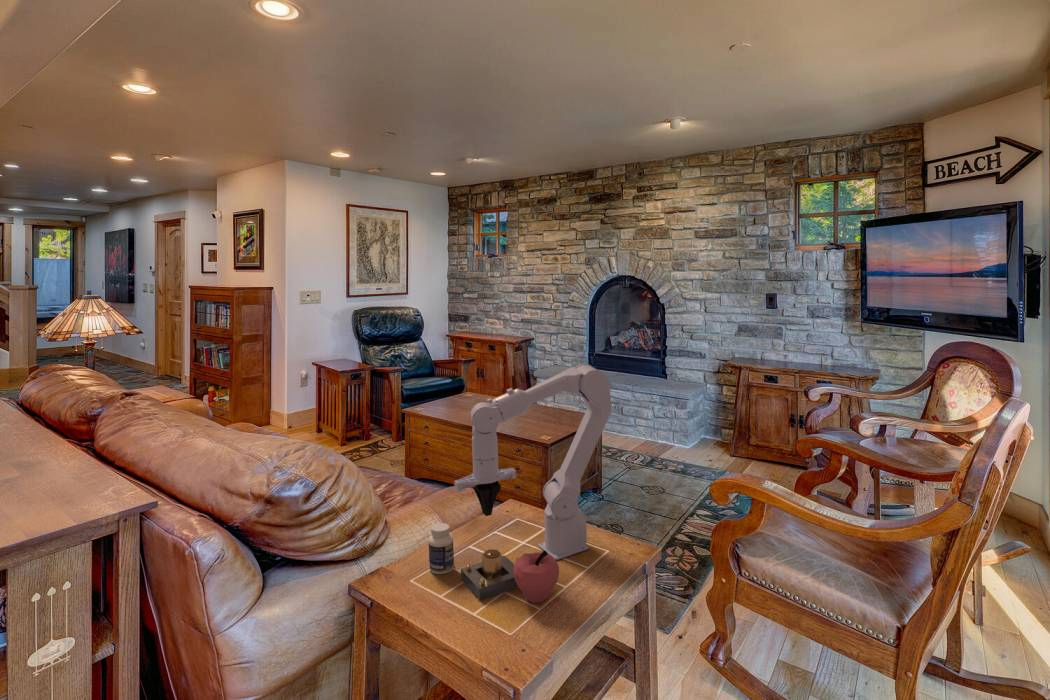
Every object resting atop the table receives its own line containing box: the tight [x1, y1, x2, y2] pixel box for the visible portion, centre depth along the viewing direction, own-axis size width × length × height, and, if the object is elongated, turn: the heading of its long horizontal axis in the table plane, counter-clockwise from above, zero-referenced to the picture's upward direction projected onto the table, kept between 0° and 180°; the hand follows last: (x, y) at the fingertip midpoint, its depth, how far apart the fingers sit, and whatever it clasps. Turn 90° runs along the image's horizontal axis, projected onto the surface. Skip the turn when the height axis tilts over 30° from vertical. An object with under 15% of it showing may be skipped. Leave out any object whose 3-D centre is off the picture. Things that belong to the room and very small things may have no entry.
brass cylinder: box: [481, 548, 502, 581], centre depth 117 cm, size 4×4×6 cm
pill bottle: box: [428, 522, 455, 575], centre depth 122 cm, size 5×5×10 cm
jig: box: [460, 555, 519, 601], centre depth 116 cm, size 11×9×4 cm
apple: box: [513, 550, 560, 604], centre depth 110 cm, size 10×9×10 cm
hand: (487, 513), depth 126 cm, fingers closed
